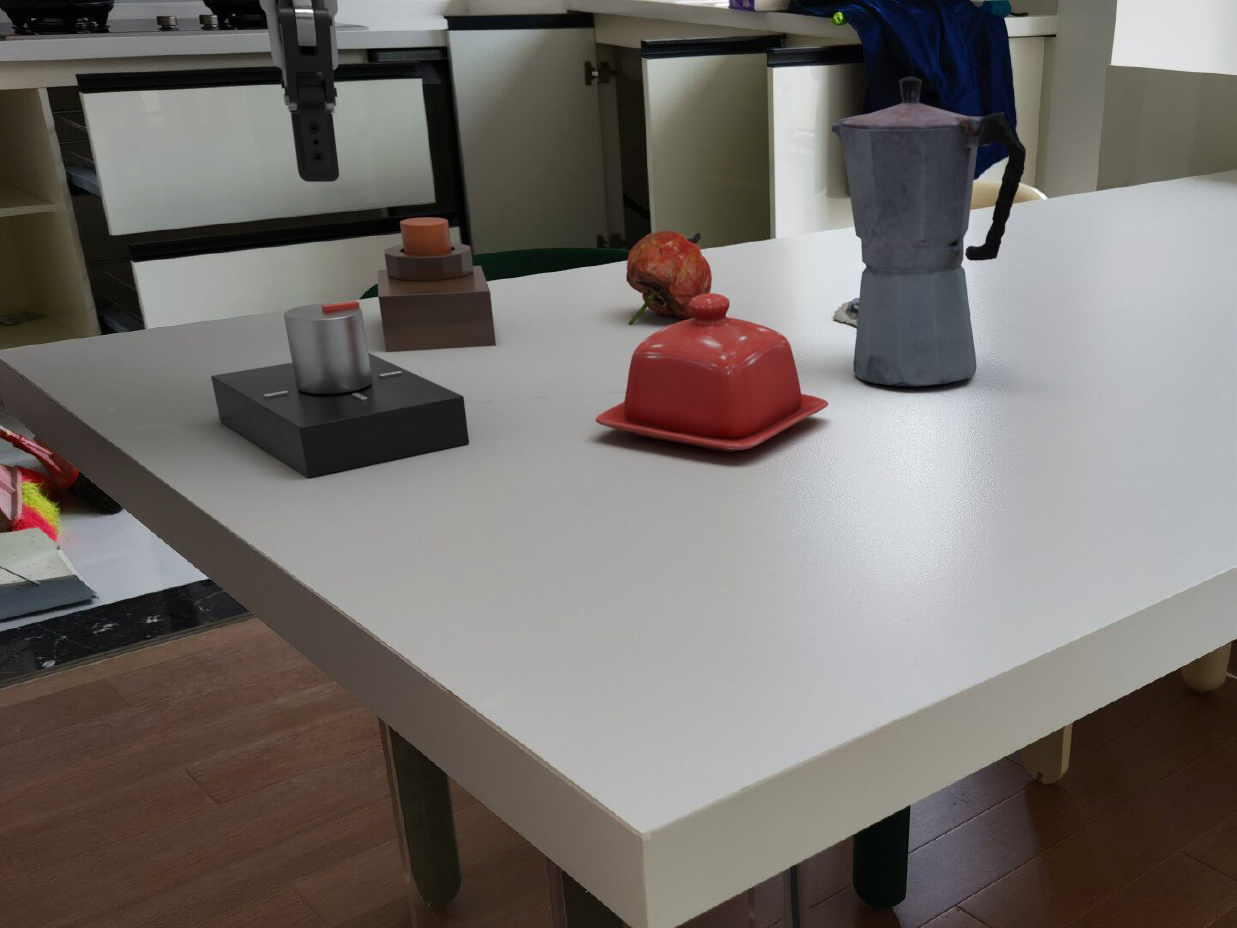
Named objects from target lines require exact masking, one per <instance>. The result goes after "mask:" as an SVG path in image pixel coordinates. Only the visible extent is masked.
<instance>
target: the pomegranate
mask: <svg viewBox="0 0 1237 928" xmlns="http://www.w3.org/2000/svg"><path fill="white" fill-rule="evenodd" d="M700 240H702V235H701V233H700V232H697V233H695V234H694V235H693V236H692V237H690V238H687V237H685V235H684V234H682V233H679V232H676V231H672V230H659V231H653V232H651V233H649V234H647V235H645V236H643V237H642V238H641V239H640V240H639V241H637V242H636V243H635V244H634V245H633V246H632V248H631V249H630V250H629V253H628V257H627V261H626V275H625V276H626V277H625V279H626V282H627V283H628V284H629V286H630V287H631V288H632V289H633V290H635V291H637V292H638V293H640V294H641V297H642V301H643V302H644V303H643V304H642V306H641V307H640V309H639V310H638V311H637V312H636V313H635V314H634V316H633V317H632V318H631V319H630V320H629V322H628V325H629V326H632V325H633V324H634V323H635V322H636V321H637V319H638V318H639V317H641V315H643V314H644V313H645V311H646V309H647V308H648V309H649V310H650V311H652V312H654V313H656V314H657V315H662V316H670V317H676V318H677V319H681V320H687V319H690V318H691V317H693V316H695V314H694V312H693V311H692V310H691V309H690V308H689V302H690V301H691V300H692V299H693V298H694V297H696V296H699V295H701V294H707V293H711V291H712V280H713V277H712V276H713V275H712V270H711V265H710V263H709V262H708V260H707V258H706V257H705V256H703V253H702V250H701V248H700V245H699V244H698V243H699V241H700Z"/></svg>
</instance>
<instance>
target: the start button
mask: <svg viewBox="0 0 1237 928" xmlns="http://www.w3.org/2000/svg"><path fill="white" fill-rule="evenodd" d="M399 226H400V233H401V241H402V245H403V249H404V253H406V254H418V255H424V254H440V253H447V252H451V251H452V250H451V243H452V242H451V241H452V240H451V234H450V233H451V232H450V225H449V220H448V219H447V218H443V217H432V216H430V217H411V218H406V219H403V220H400V222H399Z"/></svg>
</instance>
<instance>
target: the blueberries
mask: <svg viewBox="0 0 1237 928" xmlns="http://www.w3.org/2000/svg"><path fill="white" fill-rule="evenodd" d="M859 298H860V297H855V298H853V299H852V300H851V301H850V300H849V301H847V302H843V303H841V306H839V307H837V309H835V310H834V315H833V316H834V317H832V318H833V319H832V320H837V321H838V322H841V323H846V324H849V325H853V326H854V327H857V320H858V309H859Z"/></svg>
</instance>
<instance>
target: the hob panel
mask: <svg viewBox="0 0 1237 928" xmlns="http://www.w3.org/2000/svg"><path fill="white" fill-rule="evenodd" d="M368 356H369V363H370V369H371V376H372V383H371V385H369V386H368V387H365V388H363V389H360V390H357V391H352V392H347V393H339V394H311V393H306V392H302V391H300V390H298V389H297V387H296V382H295V376H294V371H293V365H292V362H288V363H287V362H286V363H282V364H275V365H268V366H263V367H256V368H250V369H245V370H237V371H233V372H226V373H219V374H214V375H213V374H212V375H211V376H210V378H211V383H212V388H213V393H214V399H215V403H216V407H217V408H216V409H217V412H218V417H219V422H220V423H221V424H223V425H225V426H226V427H228V428H229V429H231V430H233V431H235V432H236V433H237V434H239V435H241V436H242V437H243V438H245V439H247V440H248V441H250V442H252V443H253V444H255V445H256V446H258V447H259V448H260V449H262V450H264V451H265V452H267V453H269V454H270V455H272V456H273V457H275V458H276V459H278V460H279V461H281V462H283V463H284V464H286V465H287V466H289V467H290V468H292V469H294V470H295V471H297V472H299V473H300V474H302V475H304V477H306V478H308V479H310V478H315V477H316V478H317V477H319V476H320V477H321V476H325V475H329V474H333V473H338V472H344V471H348V470H352V469H357V468H361V467H367V466H370V465H377V464H379V463H385V462H390V461H394V460H398V459H399V460H400V459H403V458H409V457H412V456H417V455H418V456H419V455H422V454H427V453H432V452H437V451H441V450H444V449H445V450H446V449H451V448H456V447H459V446H460V447H461V446H465V445H468V444H470V438H469V430H468V422H467V414H466V405H465V397H464V395H462V394H460V393H458V392H455V391H453V390H451V389H449V388H447V387H444V386H442V385H440V384H438V383H435V382H434V381H432V380H429V379H427V378H425V377H422V376H420V375H418V374H416V373H414V372H412V371H409V370H407V369H406V368H403V367H401V366H398V365H396V364H394V363H393V362H390V361H388V360H385V359H383V358H381V357H378V356H377V355H374V354H373V353H370V352H368Z"/></svg>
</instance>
